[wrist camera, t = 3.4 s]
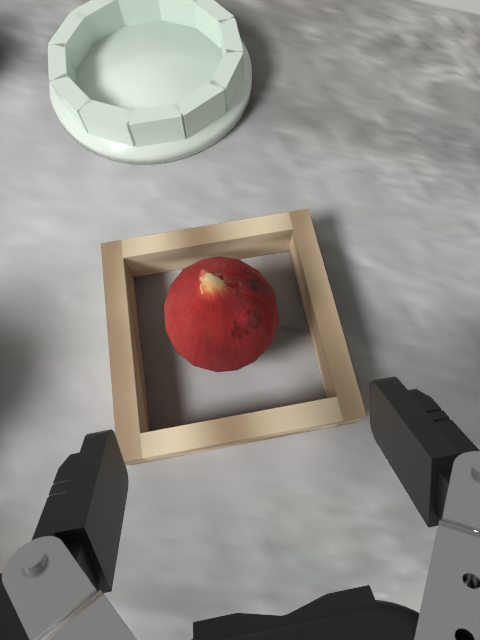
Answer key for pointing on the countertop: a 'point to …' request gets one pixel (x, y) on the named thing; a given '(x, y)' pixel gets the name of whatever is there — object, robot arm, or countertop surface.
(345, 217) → the countertop surface
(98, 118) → the dish
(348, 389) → the holder
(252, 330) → the onion
